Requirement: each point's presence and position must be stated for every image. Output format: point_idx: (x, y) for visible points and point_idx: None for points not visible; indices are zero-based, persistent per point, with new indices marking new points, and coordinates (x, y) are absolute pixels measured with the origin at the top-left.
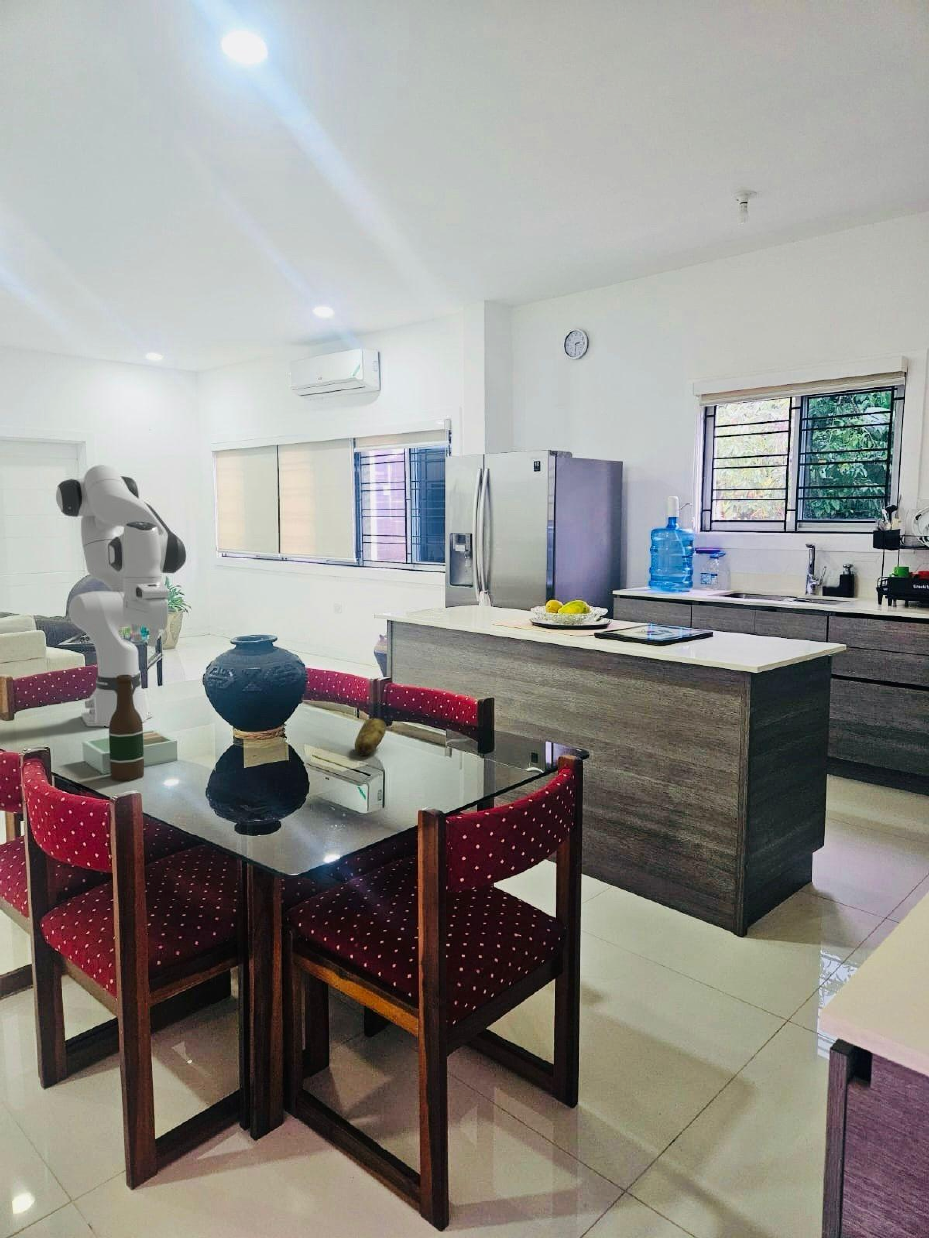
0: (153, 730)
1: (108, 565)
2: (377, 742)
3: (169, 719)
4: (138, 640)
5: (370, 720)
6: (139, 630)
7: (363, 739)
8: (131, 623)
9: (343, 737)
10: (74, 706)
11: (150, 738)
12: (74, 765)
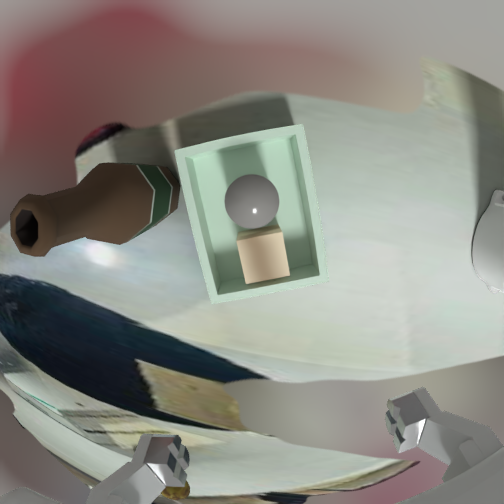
0: (323, 277)
1: None
2: None
3: (468, 313)
4: (391, 413)
5: (169, 494)
6: (438, 455)
7: None
8: (450, 481)
9: (234, 470)
10: None
11: (240, 259)
12: (272, 112)
